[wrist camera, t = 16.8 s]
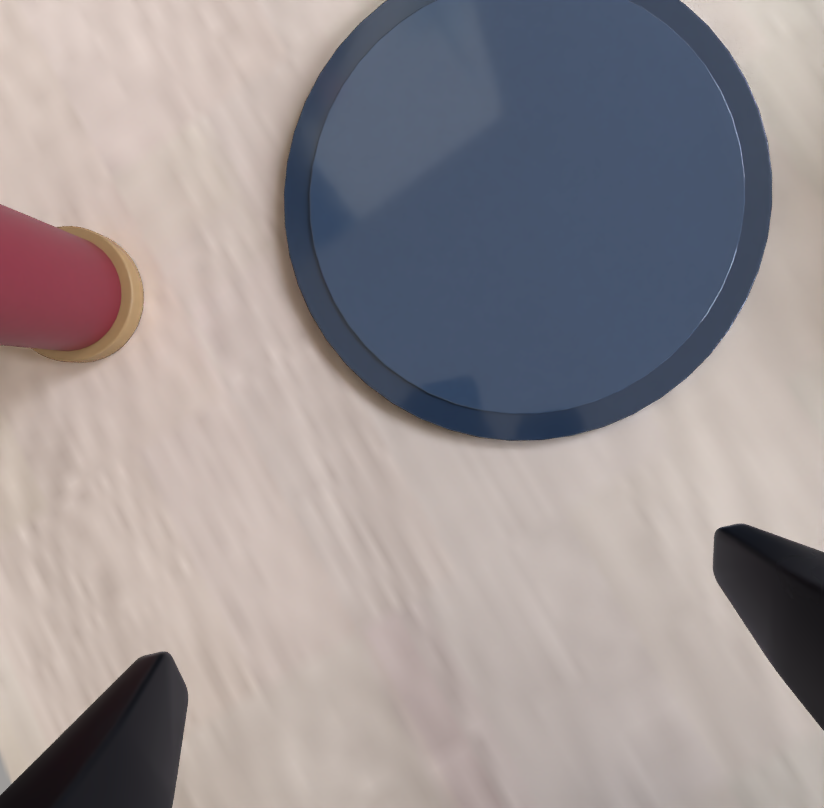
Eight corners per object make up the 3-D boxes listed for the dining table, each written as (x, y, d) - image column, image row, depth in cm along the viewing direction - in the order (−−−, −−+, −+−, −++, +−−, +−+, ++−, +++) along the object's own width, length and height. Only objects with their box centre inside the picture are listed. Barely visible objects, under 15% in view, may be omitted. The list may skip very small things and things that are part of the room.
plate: (674, 501, 20) (680, 503, 19) (230, 359, 21) (225, 358, 20) (835, 34, 19) (845, 24, 19) (365, -96, 20) (363, -108, 19)
